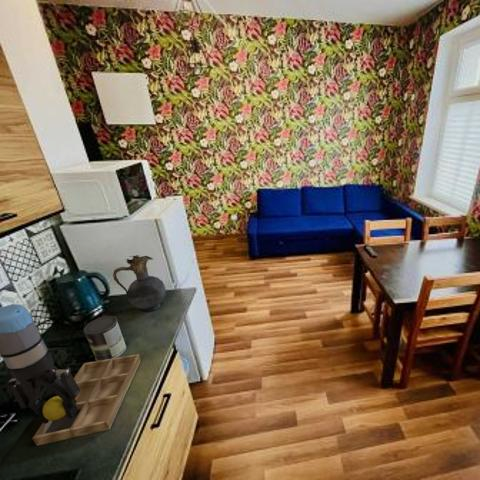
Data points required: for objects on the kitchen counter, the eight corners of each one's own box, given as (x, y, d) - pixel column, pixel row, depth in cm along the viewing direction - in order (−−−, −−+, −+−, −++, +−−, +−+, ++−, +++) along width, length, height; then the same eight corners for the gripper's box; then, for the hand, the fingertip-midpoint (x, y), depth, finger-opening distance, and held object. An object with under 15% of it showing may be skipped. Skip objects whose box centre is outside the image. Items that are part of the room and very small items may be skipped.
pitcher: (167, 310, 132) (153, 256, 121) (122, 319, 126) (102, 263, 114) (170, 298, 142) (157, 247, 130) (128, 306, 135) (110, 253, 124)
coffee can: (96, 366, 101) (84, 338, 96) (94, 351, 108) (82, 323, 102) (128, 352, 107) (118, 324, 102) (124, 338, 114) (114, 312, 109)
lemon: (72, 419, 79) (62, 401, 76) (47, 430, 76) (35, 411, 73) (75, 404, 83) (65, 386, 80) (51, 414, 80) (40, 396, 77)
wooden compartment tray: (36, 445, 76) (32, 438, 75) (86, 369, 100) (83, 363, 98) (109, 429, 80) (106, 422, 79) (140, 360, 104) (138, 353, 103)
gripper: (78, 342, 76) (103, 397, 85) (-3, 354, 72) (32, 412, 81) (62, 362, 69) (91, 420, 78) (-29, 377, 65) (13, 437, 74)
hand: (61, 416), depth 80 cm, fingers closed on lemon, 5 cm apart
